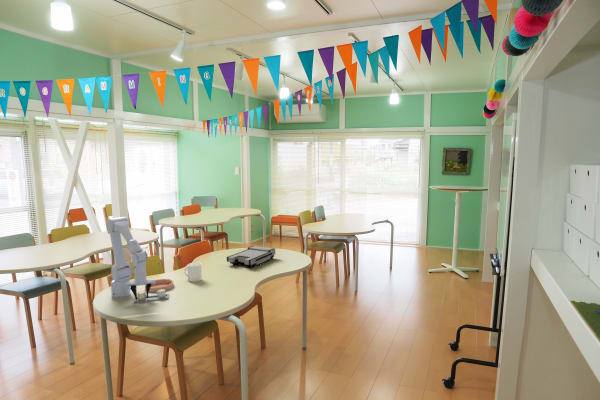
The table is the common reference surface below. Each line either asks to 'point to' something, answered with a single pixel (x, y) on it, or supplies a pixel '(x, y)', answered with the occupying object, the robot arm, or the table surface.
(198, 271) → the mug
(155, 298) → the parts tray
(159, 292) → the pale grey cylinder
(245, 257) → the game console
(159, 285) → the bowl
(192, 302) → the table surface
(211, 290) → the table surface
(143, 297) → the cream marshmallow
